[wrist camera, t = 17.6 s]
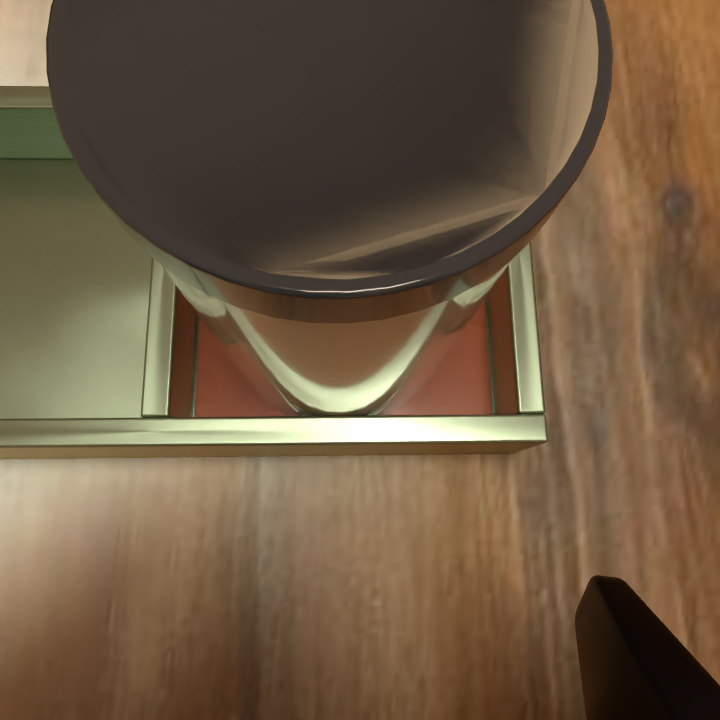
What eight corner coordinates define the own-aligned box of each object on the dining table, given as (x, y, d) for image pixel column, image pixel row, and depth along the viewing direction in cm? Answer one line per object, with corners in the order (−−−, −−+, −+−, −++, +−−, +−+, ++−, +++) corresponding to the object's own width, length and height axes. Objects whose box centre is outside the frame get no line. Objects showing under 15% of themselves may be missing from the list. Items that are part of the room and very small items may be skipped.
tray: (515, 453, 18) (549, 442, 15) (-159, 460, 17) (-261, 450, 14) (493, 150, 20) (518, 89, 17) (-101, 147, 20) (-179, 83, 17)
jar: (224, 437, 17) (24, 311, 6) (222, 217, 18) (59, -184, 8) (462, 424, 17) (661, 282, 7) (441, 208, 19) (572, -192, 8)
